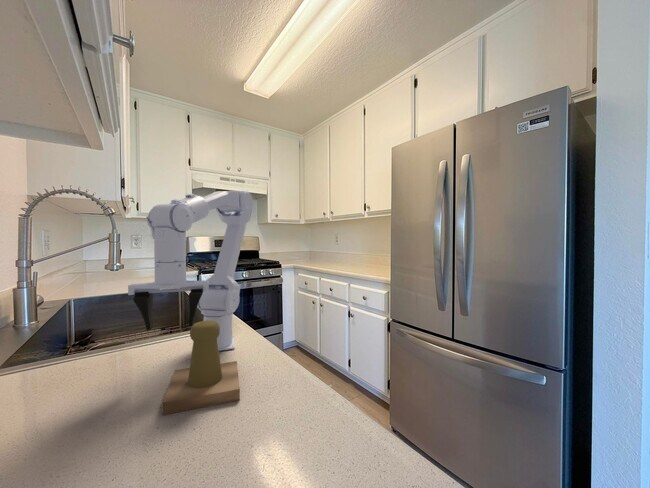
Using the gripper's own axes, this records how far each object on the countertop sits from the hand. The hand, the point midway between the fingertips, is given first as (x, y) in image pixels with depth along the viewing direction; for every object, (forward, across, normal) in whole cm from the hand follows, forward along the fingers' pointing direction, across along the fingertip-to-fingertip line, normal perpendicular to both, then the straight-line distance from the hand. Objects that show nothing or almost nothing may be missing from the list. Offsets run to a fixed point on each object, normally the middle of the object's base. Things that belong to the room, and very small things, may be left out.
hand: (170, 326), depth 57 cm
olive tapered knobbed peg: (+9, +7, -8) cm, 14 cm away
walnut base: (+10, +7, -8) cm, 15 cm away
